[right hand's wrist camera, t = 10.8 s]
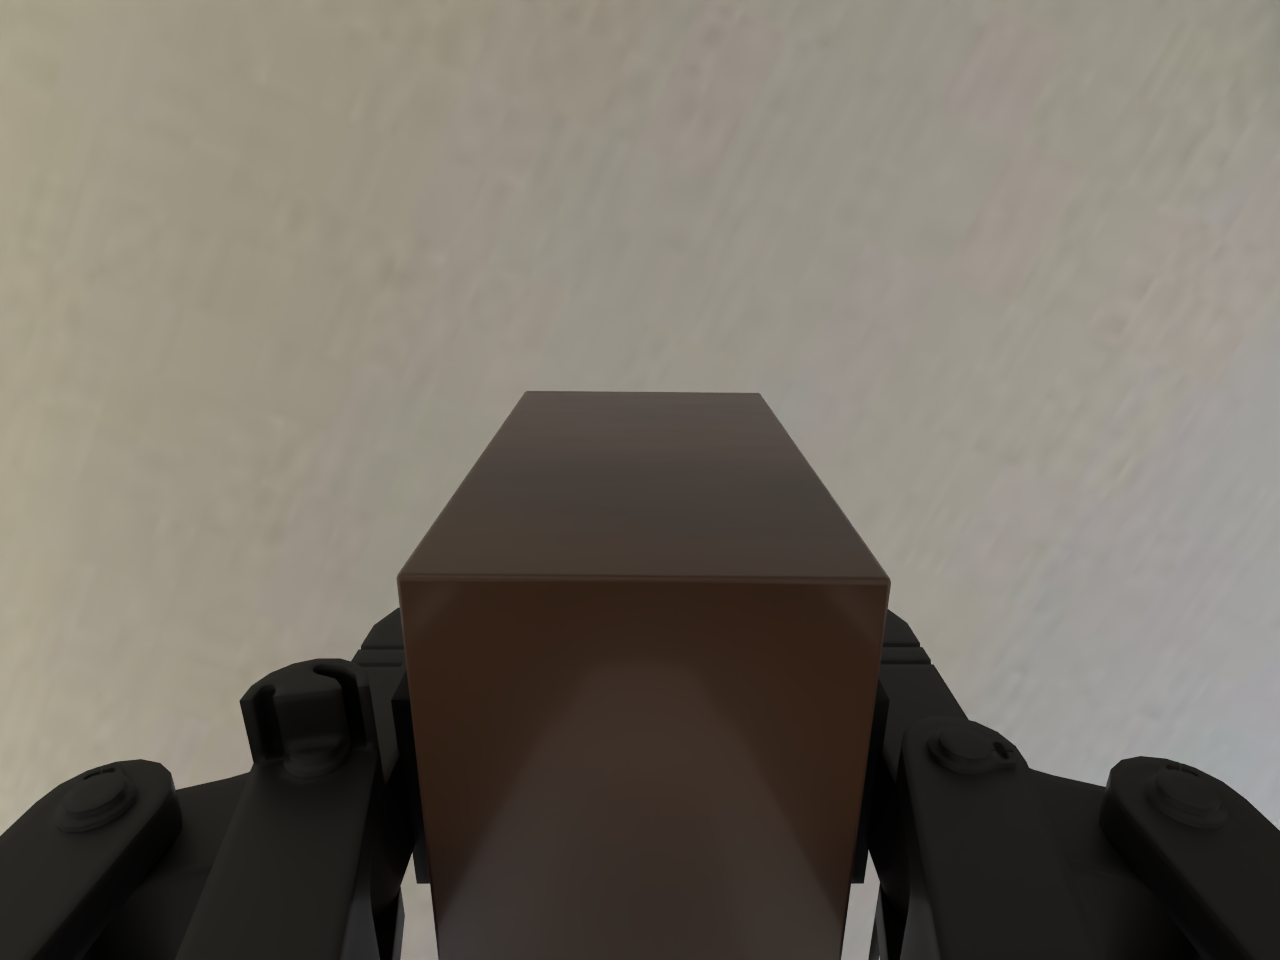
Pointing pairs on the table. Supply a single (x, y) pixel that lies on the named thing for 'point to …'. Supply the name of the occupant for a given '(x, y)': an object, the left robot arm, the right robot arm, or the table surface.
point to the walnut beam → (642, 687)
